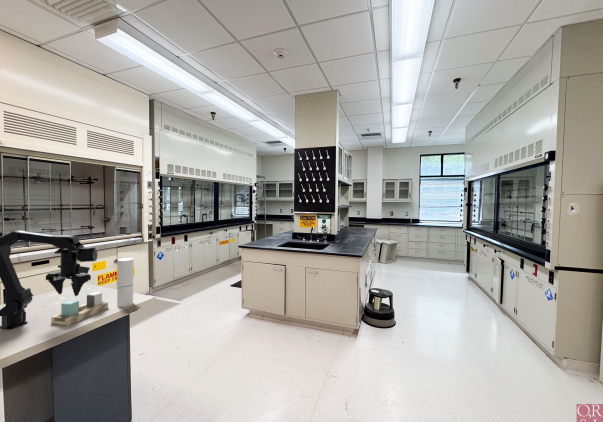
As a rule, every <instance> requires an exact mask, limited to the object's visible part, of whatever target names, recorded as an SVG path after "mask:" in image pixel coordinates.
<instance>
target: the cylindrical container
mask: <svg viewBox="0 0 603 422" xmlns="http://www.w3.org/2000/svg"><path fill="white" fill-rule="evenodd" d="M116 278H117V280H116V282H117V283H116V287H117V289H116V291H117V292H116V306H117V307H118V308H125V307H129V306H131V305H133V303H134V258H133V257H124V258H118V259H117V277H116Z"/></svg>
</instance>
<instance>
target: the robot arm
mask: <svg viewBox="0 0 603 422" xmlns="http://www.w3.org/2000/svg"><path fill="white" fill-rule="evenodd" d="M19 241H22V242H28V243H29V242H31V243H36V244H37V243H38V244H46V245H47V244H48V245H50V246H53V247H56V248H58V250H56V251H54V254H60V261H59V262H60V265H59V264H58V265H57V268H59V270H57V271H55V272H54V271H53V272H49V273H47V274H46V275H45V281H47V282H49V284H50V286H52V287H53V288H54V290H55V291H56V293H58V295H62V294H63V287H64V282H65V280H71V283H70V285H71V289H72V291H73V295H74V297H78V296H79V295H80V294H79V293H80V292H81V289H82V287H83V285H84V284H85V283H88V282H89V281H91V279H92V275H91V274H89V271H90V267H87V266H81V263H83V262H84V263H85V262H87V263H88V262H96V261H97V259H98V251H97V249H96V246H93V247H92V246H91V247H86V246H84V245H83V244H82V243H81V242H80V239H79V237H78V236H77V235H74V234H63V235H62V234H61V235H56V234H55V235H53V234H47V233H38V232H31V231H24V230H22V229H21V230H14V231H13V230H12V231H11V232H10V233H7V234H5V235H3V236H0V281H1V283H2V285H3V288H4V290H5V297H4V304H5V306H3V307H2V308H0V317H1V325H0V329H3V330H4V329H5V330H12V329H14V328H17V327H21V326H22V325H26V324H28V323H29V321H27V312H26V308H27V307H28V305H29V304H31V303H32V301H33V297H34V294H33V293H32V291H31V290H32V289H31V288H30V287H29V288H25V287H23V286H22V284H21V282H20V281H21V280H20V279H19V277H18V274H17V271H16V270H15V269H16V268H14V265H13V262H12V260H11V257H10V256H11V252H12V247H11V246H13V245H15V244H16V243H17V242H19ZM78 261H79V263H78Z"/></svg>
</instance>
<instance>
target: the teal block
mask: <svg viewBox="0 0 603 422" xmlns="http://www.w3.org/2000/svg"><path fill="white" fill-rule="evenodd" d="M60 306H61V312H60V314H61V316H62V317H70V316H73V315H75V314H78V313H79V306H80V301H78V300H68V301H67V300H66V301H63V302H62V303H61V305H60Z"/></svg>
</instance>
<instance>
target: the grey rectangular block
mask: <svg viewBox="0 0 603 422" xmlns="http://www.w3.org/2000/svg"><path fill="white" fill-rule="evenodd" d="M102 302H103V292H99V291H93V292H91V293H88V294H86V303H87V308H92V307H95V306H97V305H100V304H102Z"/></svg>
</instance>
